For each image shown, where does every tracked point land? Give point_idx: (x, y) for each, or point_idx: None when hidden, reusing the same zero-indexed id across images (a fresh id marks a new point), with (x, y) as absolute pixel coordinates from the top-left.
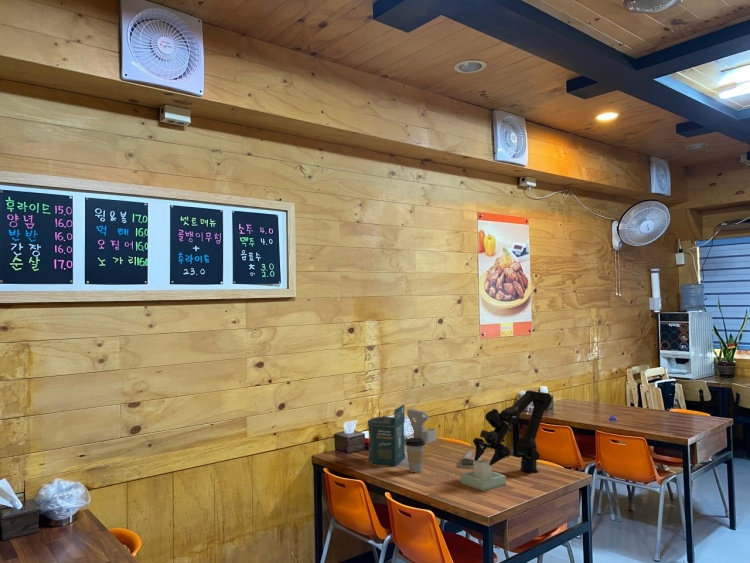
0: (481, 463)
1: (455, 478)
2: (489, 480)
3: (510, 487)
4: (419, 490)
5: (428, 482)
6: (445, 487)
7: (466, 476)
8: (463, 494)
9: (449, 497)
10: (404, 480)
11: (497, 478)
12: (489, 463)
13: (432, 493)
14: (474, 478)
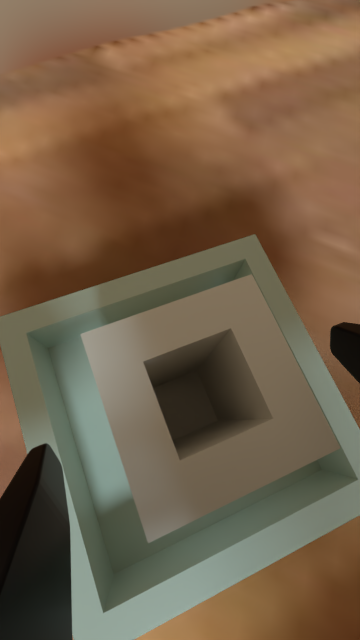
0: (120, 334)
1: (333, 273)
2: (14, 396)
3: None
4: (169, 50)
5: (281, 120)
6: (177, 162)
7: (191, 257)
8: (24, 202)
9: (12, 123)
10: (330, 46)
11: None
12: (42, 447)
13: (105, 80)
14: (106, 286)
